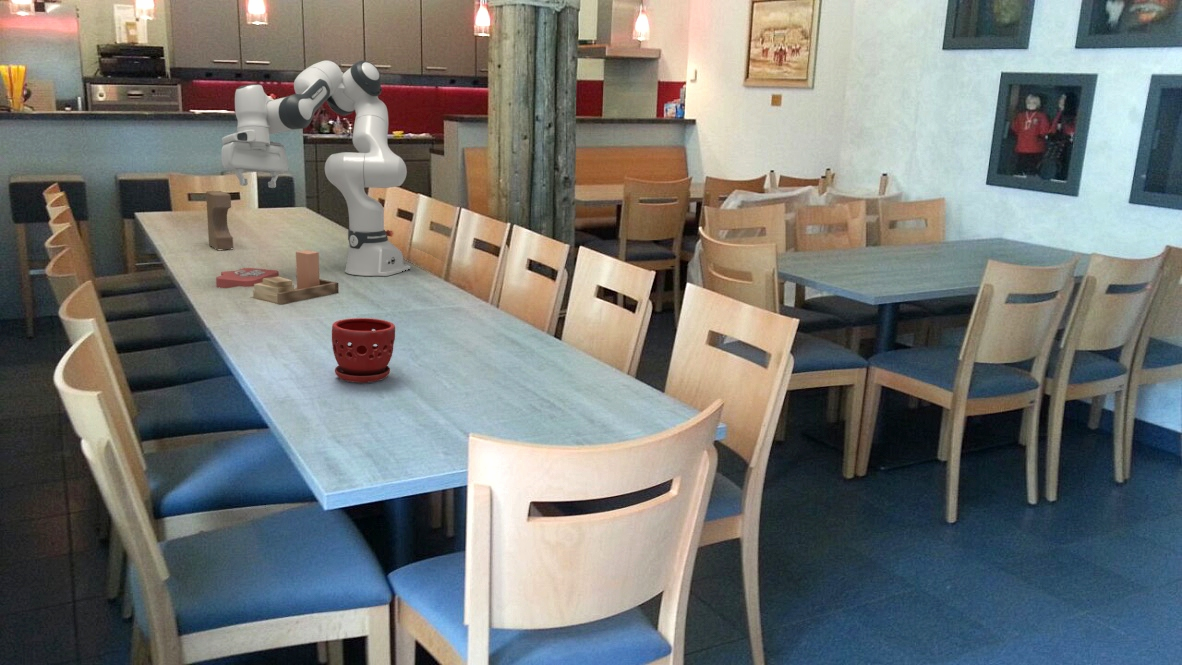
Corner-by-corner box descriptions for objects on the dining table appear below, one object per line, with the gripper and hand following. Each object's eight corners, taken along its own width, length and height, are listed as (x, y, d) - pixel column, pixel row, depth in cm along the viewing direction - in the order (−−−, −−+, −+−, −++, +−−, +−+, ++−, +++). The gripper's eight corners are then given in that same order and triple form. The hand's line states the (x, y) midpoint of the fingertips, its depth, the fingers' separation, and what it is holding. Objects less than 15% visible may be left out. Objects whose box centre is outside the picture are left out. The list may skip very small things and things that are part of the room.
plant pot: (381, 389, 195) (380, 333, 192) (322, 383, 197) (320, 327, 194) (404, 371, 207) (404, 319, 204) (348, 365, 209) (347, 313, 206)
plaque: (237, 264, 295) (281, 268, 293) (237, 276, 296) (281, 280, 294) (204, 275, 278) (250, 279, 276) (205, 287, 279) (251, 292, 277)
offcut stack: (273, 293, 270) (273, 274, 268) (299, 299, 264) (299, 280, 263) (252, 297, 264) (251, 278, 262) (278, 303, 258) (278, 284, 257)
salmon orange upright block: (308, 290, 276) (306, 250, 273) (319, 293, 273) (318, 252, 270) (297, 292, 272) (295, 251, 269) (309, 295, 270) (307, 254, 267)
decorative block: (233, 249, 338) (230, 194, 333) (217, 250, 335) (214, 194, 329) (224, 245, 346) (221, 190, 341) (208, 246, 343) (205, 191, 338)
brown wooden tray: (308, 289, 282) (307, 276, 281) (338, 296, 275) (338, 282, 274) (249, 300, 264) (249, 286, 263) (280, 308, 258) (280, 293, 257)
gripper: (278, 145, 285) (282, 190, 285) (216, 137, 269) (220, 185, 269) (290, 141, 281) (294, 187, 281) (228, 133, 265) (233, 182, 265)
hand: (258, 186), depth 275 cm, fingers open, 8 cm apart
